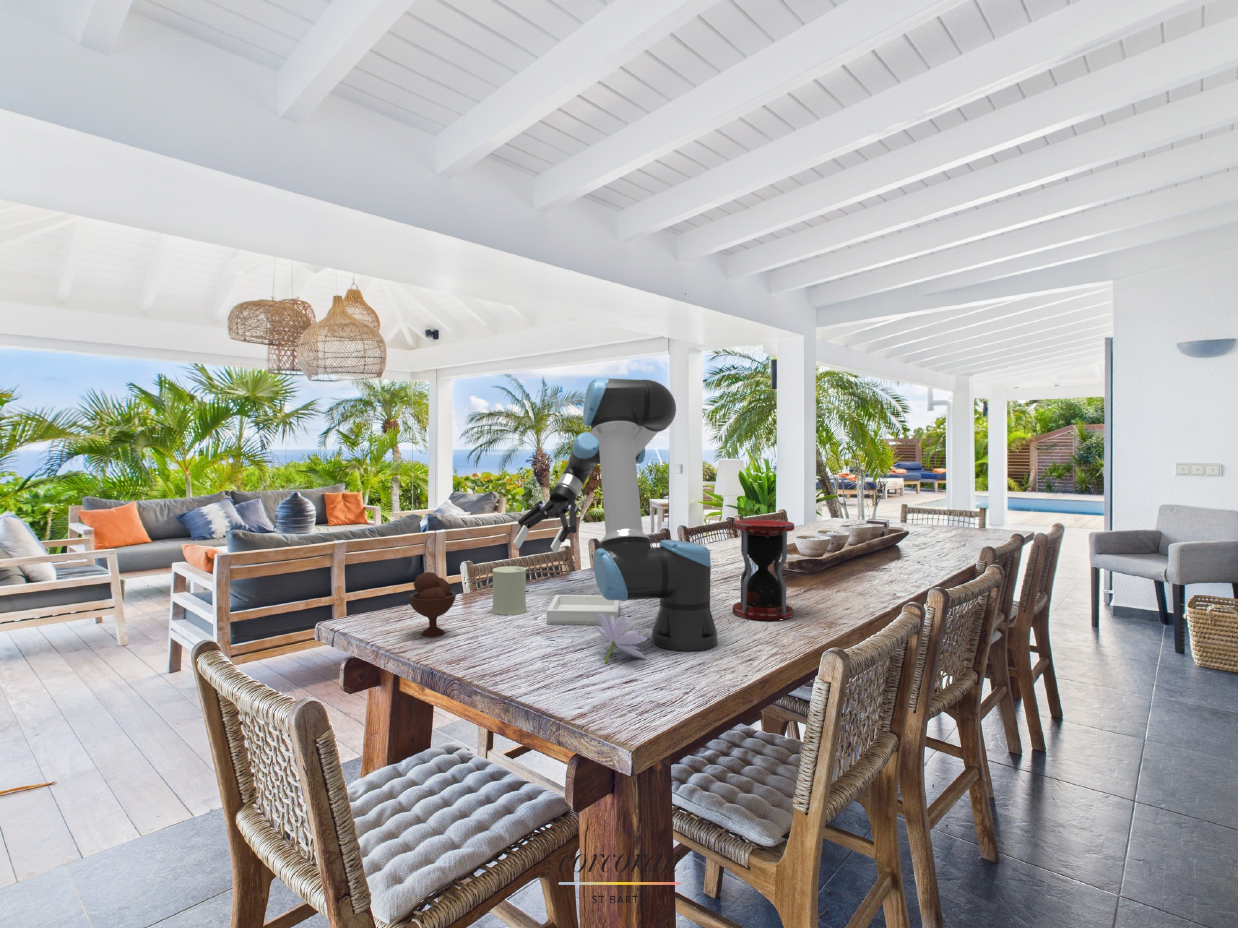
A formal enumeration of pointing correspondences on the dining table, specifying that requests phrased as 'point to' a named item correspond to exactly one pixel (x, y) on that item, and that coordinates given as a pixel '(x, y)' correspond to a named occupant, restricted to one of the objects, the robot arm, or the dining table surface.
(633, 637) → the water lily
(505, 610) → the can
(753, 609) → the hourglass
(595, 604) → the grey tray
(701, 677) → the dining table surface
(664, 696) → the dining table surface
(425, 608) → the ice cream bowl
